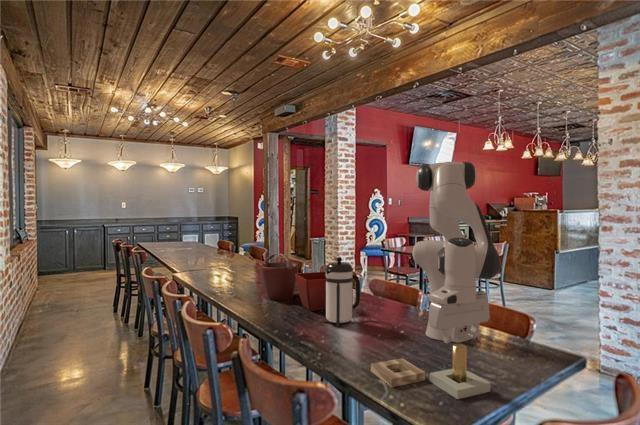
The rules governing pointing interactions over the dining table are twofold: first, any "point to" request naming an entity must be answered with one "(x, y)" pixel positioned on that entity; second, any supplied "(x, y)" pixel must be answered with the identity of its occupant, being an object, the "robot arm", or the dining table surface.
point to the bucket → (278, 278)
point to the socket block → (460, 384)
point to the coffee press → (340, 292)
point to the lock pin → (459, 363)
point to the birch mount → (400, 378)
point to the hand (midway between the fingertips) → (459, 339)
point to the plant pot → (312, 289)
